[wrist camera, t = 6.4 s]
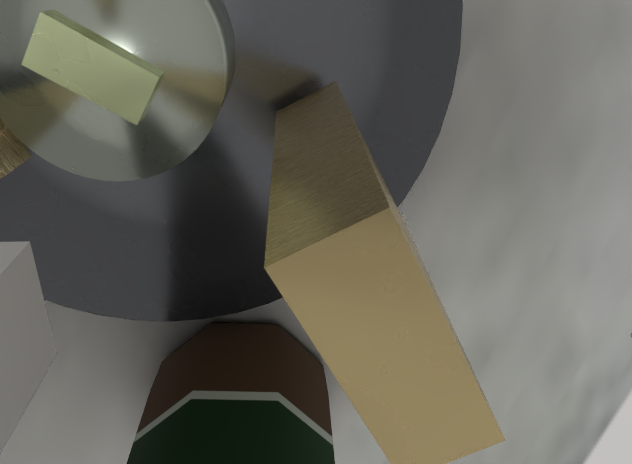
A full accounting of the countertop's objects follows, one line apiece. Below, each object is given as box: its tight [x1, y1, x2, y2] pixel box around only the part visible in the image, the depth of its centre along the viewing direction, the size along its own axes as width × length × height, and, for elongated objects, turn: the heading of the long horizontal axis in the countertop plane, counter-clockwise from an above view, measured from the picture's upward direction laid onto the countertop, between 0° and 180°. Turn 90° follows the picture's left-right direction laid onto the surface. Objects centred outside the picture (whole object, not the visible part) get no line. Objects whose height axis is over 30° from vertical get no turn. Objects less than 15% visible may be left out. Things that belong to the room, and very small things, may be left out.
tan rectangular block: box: [264, 81, 505, 464], centre depth 14 cm, size 6×2×10 cm, turn 27°
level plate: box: [0, 0, 463, 321], centre depth 16 cm, size 21×21×5 cm
